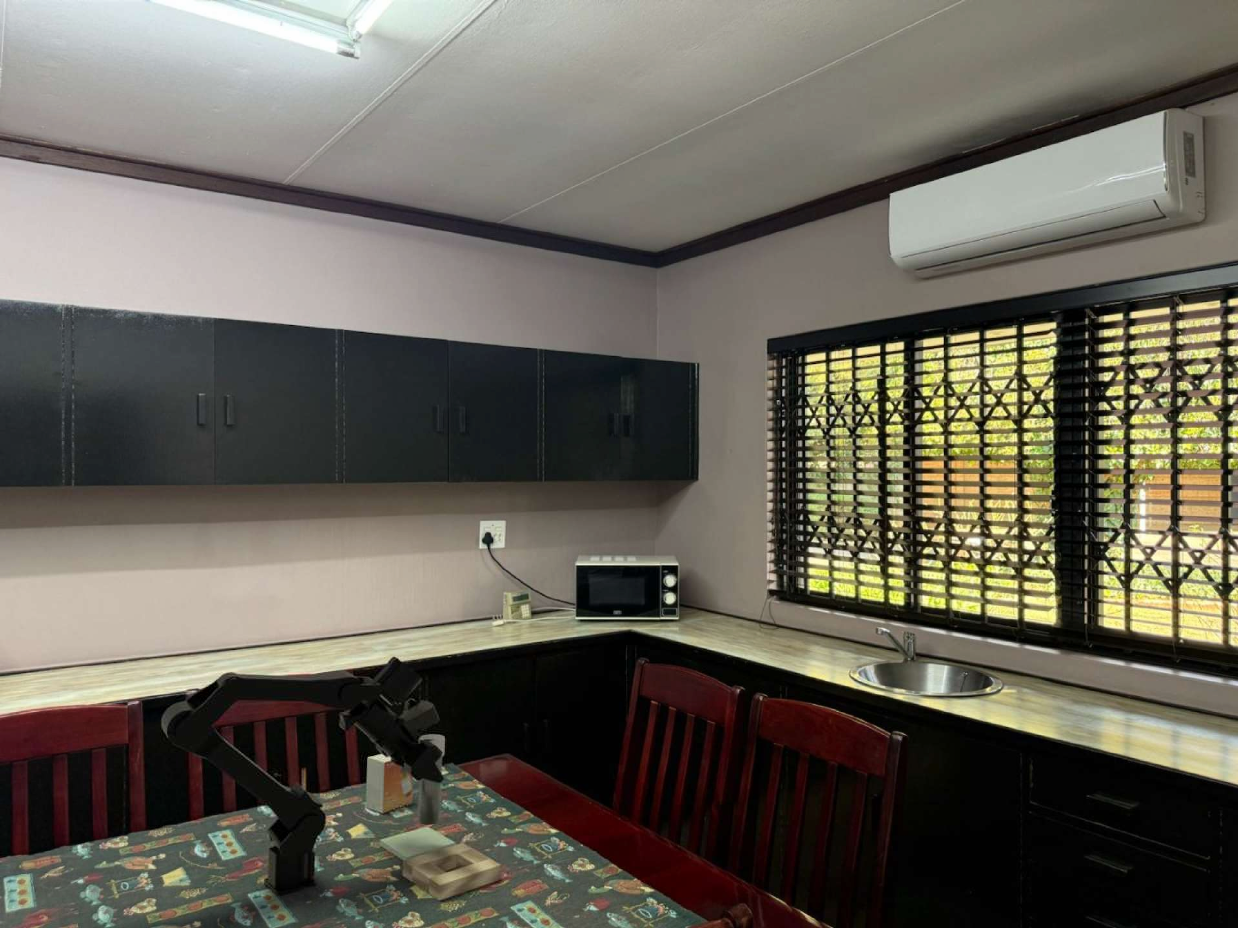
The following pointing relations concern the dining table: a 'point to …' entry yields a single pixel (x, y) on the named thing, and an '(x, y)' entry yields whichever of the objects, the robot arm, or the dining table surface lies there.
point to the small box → (387, 784)
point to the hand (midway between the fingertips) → (437, 777)
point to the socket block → (442, 885)
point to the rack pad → (415, 843)
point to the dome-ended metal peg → (430, 787)
